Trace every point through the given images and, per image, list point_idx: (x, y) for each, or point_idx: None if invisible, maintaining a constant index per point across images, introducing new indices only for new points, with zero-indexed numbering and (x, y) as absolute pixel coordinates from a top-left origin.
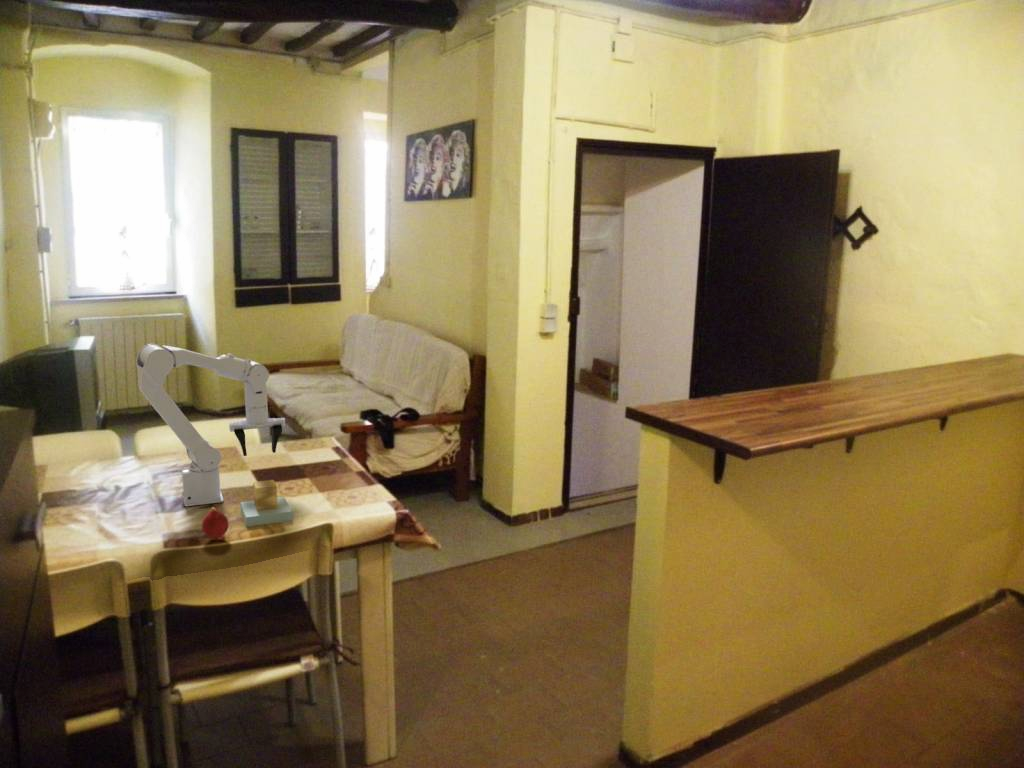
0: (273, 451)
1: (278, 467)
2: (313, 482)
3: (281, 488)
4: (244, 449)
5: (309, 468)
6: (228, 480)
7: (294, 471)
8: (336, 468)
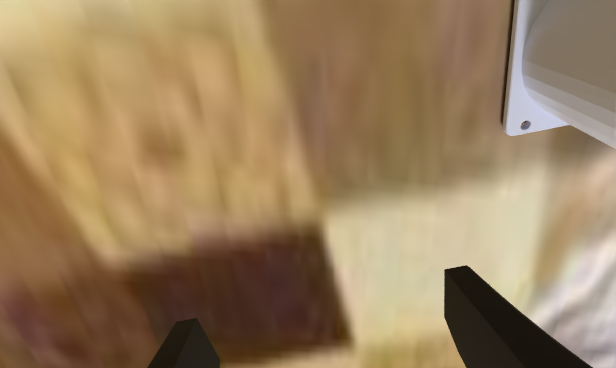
0: (187, 327)
1: (259, 362)
2: (62, 213)
3: (204, 154)
4: (505, 318)
5: (138, 349)
6: (443, 268)
7: None
8: (24, 344)
